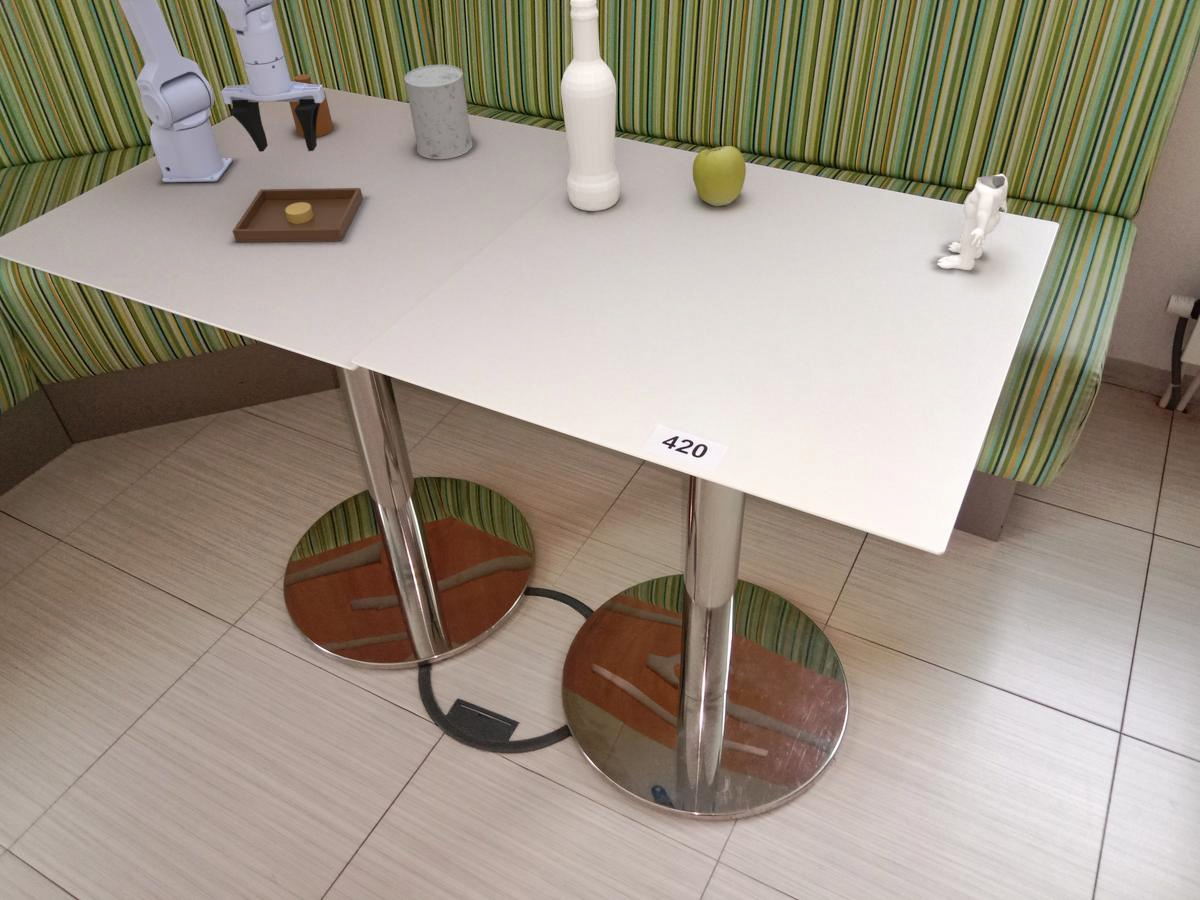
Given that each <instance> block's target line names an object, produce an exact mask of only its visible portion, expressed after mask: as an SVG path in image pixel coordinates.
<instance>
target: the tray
mask: <svg viewBox="0 0 1200 900" xmlns="http://www.w3.org/2000/svg"><path fill="white" fill-rule="evenodd" d="M363 200H364V197H363V193H362V189H361V187H336V188H334V187H333V188H331V187H328V188H327V187H326V188H271V189H270V188H268V189H267V188H266V189H265V188H264V189H263V188H261V189H260V190H259V191H258V192H257V194H256V196H255V197H254V198H253V200H252V201H251V203H250V204H249V206H248V207H247V208H246V210H245V212H244V213H243V215H242V216H241V218H240V219H239V220H238V222H237V223H236V225H235V227H234V228H233V230H232V234H233V237H234V240H235V243H293V242H295V243H296V242H299V243H300V242H343V239H344V237H345V236H346V234H347V232H348V230H349V228H350V226H351V223H352V221H353V220H354V218H355V216H356V213H357V212H358V210H359V207H360V206H361V203H362V202H363ZM299 202H305V203H309V204H310V205H311V208H312V211H313V214H314V216H313V218H312V219H311V220H310V221H308V222H305V223H301V224H293V223H290V222H288V219H287V216H286V212H285V209H286V208H287V207H288V206H289V205H291V204H294V203H299Z"/></svg>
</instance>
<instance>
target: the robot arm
mask: <svg viewBox="0 0 1200 900" xmlns="http://www.w3.org/2000/svg"><path fill="white" fill-rule="evenodd" d="M216 2H217V4H218V6H219V7H220V9H221V10H222V12H223V13H224V15H225V19H226V21H227V24H228V25H229V27H230V28H231V29H233V31H234V35H235V38H236V42H237V45H238V49H239V52H240V55H241V59H242V63H243V66H244V69H245V73H246V76H247V79H248V83H245V84H238V85H226V86H224V87H223V89H222V90H221V92H220V93H221V96H222V99H223V102H224V105H231V106H232V108H231V109H230V114H231V115H232V117H233V118H235V119H236V121H238V123H240V125H241V126H242V127H243V128H244V129H245V131H246V132H247V133H248V135H249V136H250V138H251V140H252V142H254V144H255V146H256V148H257V150H258V152H265V150H266V149H267V147H268V139H267V136H266V132H265V129H264V125H263V122H262V118H261V111H260V105H259V103H278V102H279V103H282V102H283V103H284V102H285V103H287V102H288V103H289V102H294V101H299V103H300V104H298V105H297V107H296V108H295V113H296V115H297V117H298V119H299V122H300V124H301V127H302V129H303V133H304V137H303V138H304V141H305V145H306V148H307V150H308V152H313V151H314V150H316V148H317V144H318V143H317V137H316V125H317V117H318V111H319V107H320V103H322V101H323V100H324V99H325V94H326V93H325V94H324V91H325V90H324V85H323V84H315V85H313V84H314V83H313V84H306V83H299V82H295V81H292V80H291V77H290V73H289V68H288V66H287V60H286V57H285V52H284V49H283V44H282V40H281V38H280V33H279V29H278V25H277V22H276V18H275V14H274V10H273V6H272V4H274V3H275V2H276V0H216ZM118 3H119V5H120V7H121V10H122V12H123V13H124V16H125V19H126V21H127V23H128V26H129V28H130V31H131V32H132V35H133V37H134V39H135V42H136V44H137V46H138V48H139V50H140V53H141V55H142V57H143V59H144V62H145V63H144V66H143V67H142V69H141V71H140V73H139V74H138V76H137V79H136V80H135V83H136V85H137V89H138V91H139V95H140V99H141V105H142V108H143V111H144V112H145V114H146V116H147V117H148V118H149V120H150V121H151V122H152V124H151V126H150V131H149V135H150V144H151V147H152V149H153V152H154V155H155V157H156V160H157V163H158V165H159V168H160V172H161V174H162V178H161V181H162V183H196V182H197V183H200V182H201V183H202V182H203V183H204V182H206V183H207V182H208V183H209V182H217V181H219V179H220V178H221V177H222V175H223V174H224V173H225V172H226V170H227V169H228V168H229V166H230V165H231V164H232V162H233V157H222V154H221V151H220V148H219V146H218V142H217V139H216V135H215V133H214V129H213V127H212V124H211V120H210V118H209V117H210V116H212V110H211V109H212V108H213V107H214V104H215V96H214V90H213V88H212V86H211V84H210V82H209V81H208V79H207V78H206V77H205V76H204V74H203V72H202V71H201V68H200V67H199V64H198V63H197V62H196V61H194V60H192V59H189V58H187V57H184V56H182V55H180V53H179V51H178V48H177V45H176V43H175V41H174V39H173V36H172V33H171V32H170V28H169V27H168V24H167V22H166V18H165V17H164V14H163V12H162V9H161V8H160V7H161V6H160V5H159V2H158V0H118Z"/></svg>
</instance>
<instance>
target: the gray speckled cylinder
mask: <svg viewBox="0 0 1200 900" xmlns="http://www.w3.org/2000/svg"><path fill="white" fill-rule="evenodd" d="M463 76H464V73H463V70H462V69H461V68H460V67H457V66H455V65H451V64H429V65H423V66H420V67H417V68H414V69H411V70H410V71H408V72H407V73H406V74H405V75H404V77H403V79H404V83H405V86H406V87H405V88H406V93H407V98H408V103H409V109H410V116H411V120H412V126H413V133H414V136H415V144H416V152H417V154H418V155H419V156H421V157H423V158H426V159H431V160H449V159H454V158H458V157H460V156H463V155H465V154H466V153H468V152H469V151H470V150H471V149H472V148H473V141H472V134H471V126H470V120H469V112H468V106H467V105H468V104H467V98H466V91H465V84H464V77H463Z"/></svg>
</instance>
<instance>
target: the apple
mask: <svg viewBox="0 0 1200 900" xmlns="http://www.w3.org/2000/svg"><path fill="white" fill-rule="evenodd" d="M714 145H717V142H716V141H714ZM692 163H693V164H692V179H693V183H694V187H695V190H696V192H697V195H698V196H699V199H701V200H702V201H703V202H705V203H706V204H709V206H710V205H711V206H713V207H720V206H721V207H722V206H727V205H729V204H731V203H732V202H733V201H735V200H736V199H737V198H738V197H739V196H740V194H741V192H742V189H743V188H744V184H745V180H746V179H745V178H746V173H747V169H746V168H747V167H746V161H745V158H744V156H743V153H742V152H741V151H740V150H739V149H738V148H737V147H735V146H732V145H724V146H718V147H717V146H716V147H714V148H710V149H703V150H701V151H699V152H698V153H697V155H696V156H695V157H694V160H693V162H692Z"/></svg>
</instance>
